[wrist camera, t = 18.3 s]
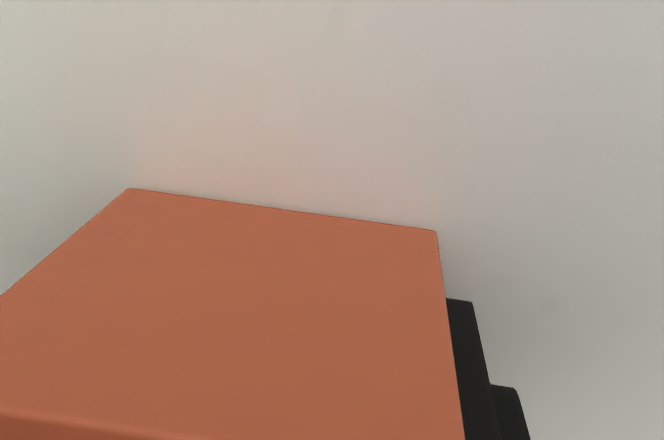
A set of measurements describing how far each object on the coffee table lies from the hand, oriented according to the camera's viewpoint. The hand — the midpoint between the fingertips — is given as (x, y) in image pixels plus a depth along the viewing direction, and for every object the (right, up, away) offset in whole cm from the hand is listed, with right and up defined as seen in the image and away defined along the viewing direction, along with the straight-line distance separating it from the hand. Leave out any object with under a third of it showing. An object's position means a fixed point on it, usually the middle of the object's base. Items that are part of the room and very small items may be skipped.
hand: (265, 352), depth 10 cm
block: (0, 0, 0) cm, 0 cm away
